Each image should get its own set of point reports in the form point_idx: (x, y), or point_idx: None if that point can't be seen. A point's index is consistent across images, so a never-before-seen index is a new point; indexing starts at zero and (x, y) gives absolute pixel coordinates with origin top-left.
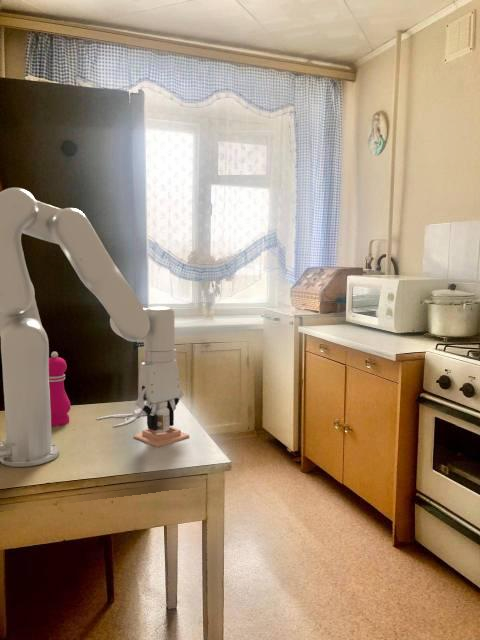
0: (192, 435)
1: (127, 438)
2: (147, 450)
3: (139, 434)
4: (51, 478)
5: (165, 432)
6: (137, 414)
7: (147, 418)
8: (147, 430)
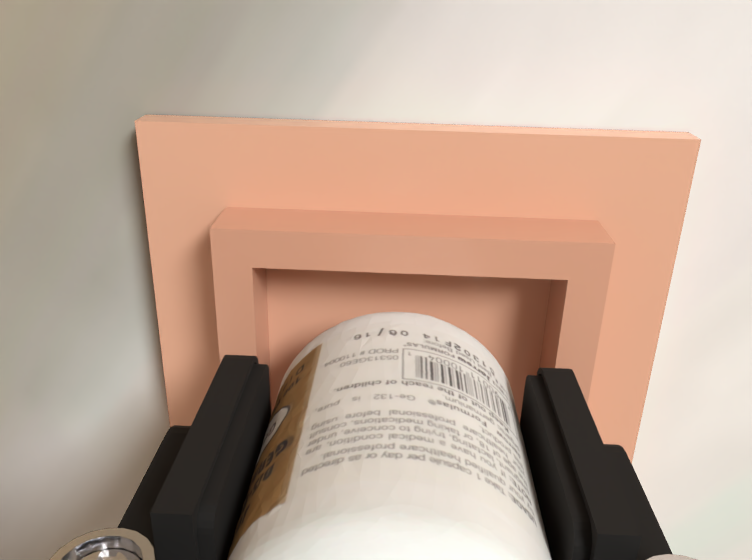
0: (666, 534)
1: (63, 82)
2: (77, 514)
3: (210, 159)
4: None
5: (498, 343)
6: None
7: (130, 514)
8: (276, 268)
